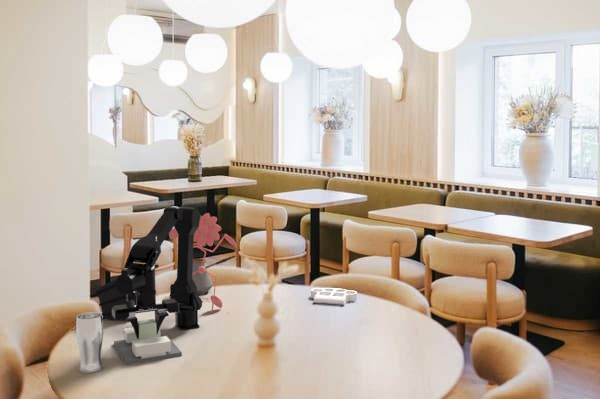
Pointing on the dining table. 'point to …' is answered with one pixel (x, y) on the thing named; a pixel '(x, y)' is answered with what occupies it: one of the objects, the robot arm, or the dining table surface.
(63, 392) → the dining table surface
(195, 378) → the dining table surface
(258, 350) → the dining table surface
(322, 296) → the white holed tray
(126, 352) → the rail panel
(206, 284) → the coffee pot
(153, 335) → the block
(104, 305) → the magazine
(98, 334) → the beer glass
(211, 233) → the figurine
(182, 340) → the dining table surface
